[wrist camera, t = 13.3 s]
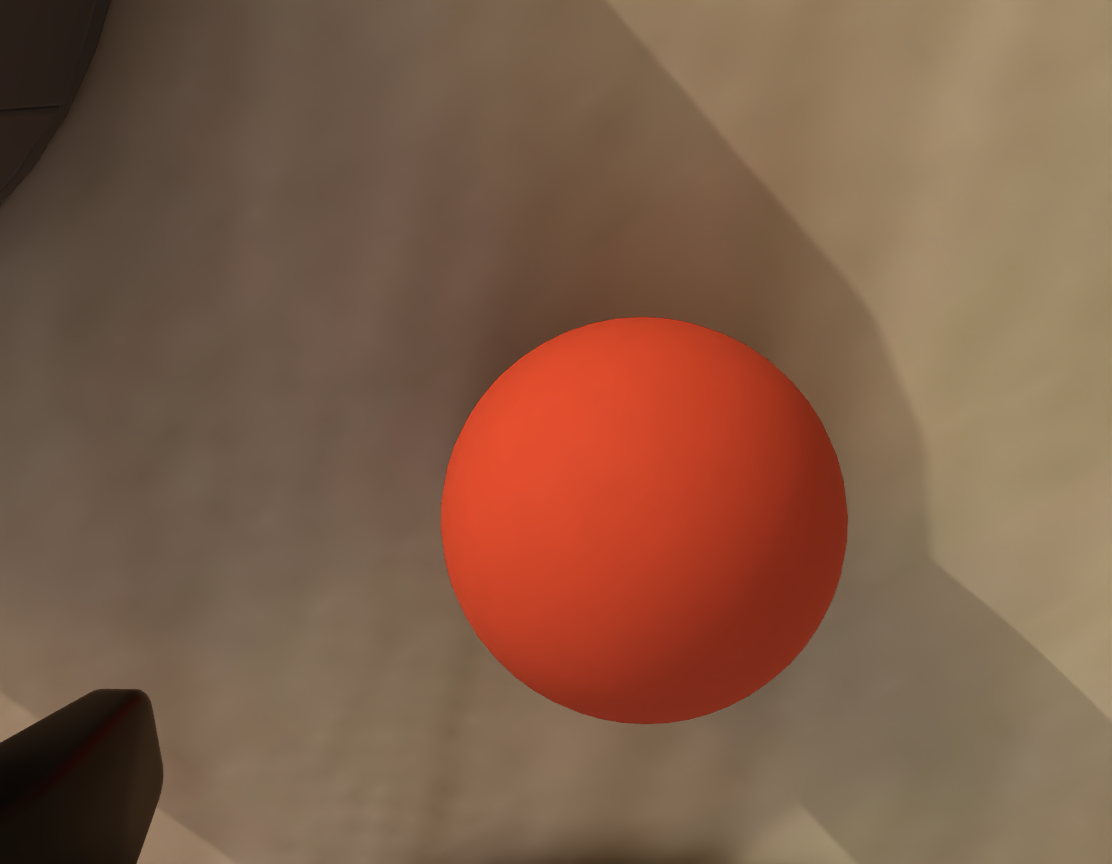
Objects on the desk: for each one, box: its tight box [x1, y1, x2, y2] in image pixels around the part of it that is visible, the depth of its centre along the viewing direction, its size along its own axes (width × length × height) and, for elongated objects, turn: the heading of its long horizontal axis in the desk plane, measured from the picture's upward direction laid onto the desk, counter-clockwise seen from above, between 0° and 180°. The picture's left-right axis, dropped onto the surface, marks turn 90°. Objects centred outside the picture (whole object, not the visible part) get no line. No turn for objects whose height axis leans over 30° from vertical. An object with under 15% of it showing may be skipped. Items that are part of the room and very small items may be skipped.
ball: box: [441, 317, 848, 724], centre depth 12 cm, size 5×5×5 cm
